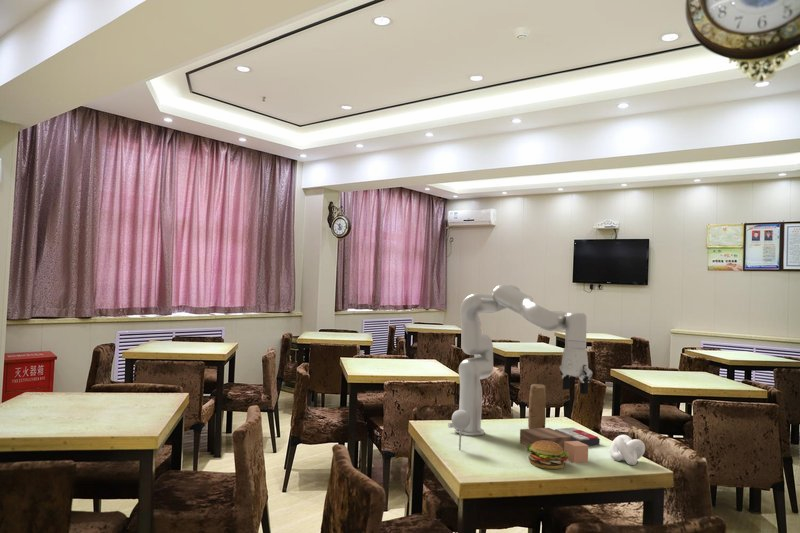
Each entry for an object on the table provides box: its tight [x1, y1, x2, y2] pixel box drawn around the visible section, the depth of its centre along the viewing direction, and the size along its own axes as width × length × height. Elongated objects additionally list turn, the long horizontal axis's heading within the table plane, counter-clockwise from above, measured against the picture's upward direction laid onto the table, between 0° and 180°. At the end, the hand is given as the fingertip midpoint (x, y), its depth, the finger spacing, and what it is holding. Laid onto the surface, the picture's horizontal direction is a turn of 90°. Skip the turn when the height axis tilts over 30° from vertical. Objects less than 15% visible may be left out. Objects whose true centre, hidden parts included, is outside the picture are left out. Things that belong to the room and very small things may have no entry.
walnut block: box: [519, 427, 572, 451], centre depth 205 cm, size 14×14×6 cm
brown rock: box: [527, 383, 547, 429], centre depth 234 cm, size 11×8×20 cm
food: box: [527, 440, 569, 470], centre depth 183 cm, size 14×14×8 cm
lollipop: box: [451, 409, 470, 451], centre depth 196 cm, size 7×7×15 cm
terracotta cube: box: [564, 441, 589, 464], centre depth 190 cm, size 6×6×6 cm
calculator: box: [554, 427, 601, 447], centre depth 217 cm, size 11×4×15 cm
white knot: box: [609, 434, 646, 466], centre depth 192 cm, size 11×12×9 cm
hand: (574, 391), depth 193 cm, fingers open, 9 cm apart
